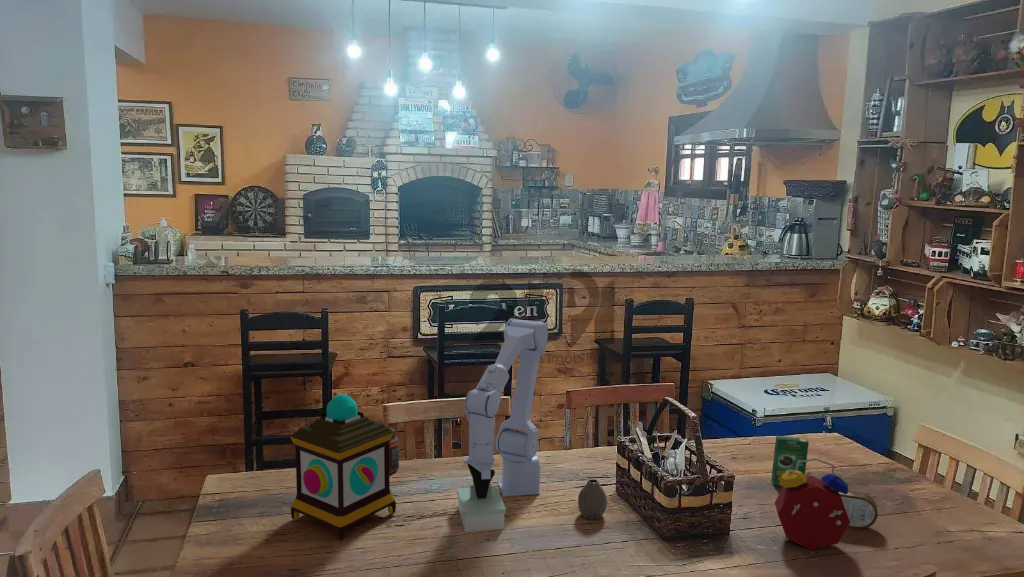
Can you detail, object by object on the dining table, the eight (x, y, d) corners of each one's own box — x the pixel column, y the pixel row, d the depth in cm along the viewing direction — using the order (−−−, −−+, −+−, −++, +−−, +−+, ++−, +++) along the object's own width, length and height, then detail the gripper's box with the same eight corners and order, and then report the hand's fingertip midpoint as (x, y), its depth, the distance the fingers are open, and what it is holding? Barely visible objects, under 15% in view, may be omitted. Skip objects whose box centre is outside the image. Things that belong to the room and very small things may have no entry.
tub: (494, 505, 177) (495, 490, 176) (504, 528, 165) (504, 512, 164) (458, 508, 175) (458, 492, 174) (465, 532, 163) (465, 515, 163)
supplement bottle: (401, 466, 199) (401, 427, 198) (395, 474, 193) (395, 434, 192) (380, 464, 200) (379, 425, 198) (374, 473, 194) (373, 433, 192)
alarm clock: (841, 540, 162) (849, 456, 159) (849, 560, 154) (858, 471, 151) (771, 532, 166) (778, 449, 162) (776, 551, 157) (783, 464, 154)
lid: (495, 491, 176) (496, 474, 176) (505, 515, 164) (506, 496, 163) (457, 494, 174) (457, 476, 174) (464, 518, 162) (464, 499, 162)
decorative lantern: (347, 491, 183) (345, 377, 178) (404, 513, 172) (403, 391, 167) (281, 521, 167) (277, 396, 162) (339, 547, 156) (337, 414, 151)
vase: (610, 512, 174) (611, 478, 173) (601, 524, 168) (602, 489, 166) (583, 506, 177) (584, 472, 175) (573, 518, 171) (574, 483, 169)
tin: (875, 527, 169) (878, 493, 168) (877, 533, 166) (880, 498, 165) (806, 516, 174) (809, 483, 173) (806, 522, 171) (809, 488, 170)
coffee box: (802, 484, 192) (806, 437, 190) (805, 488, 189) (809, 441, 187) (771, 481, 194) (774, 434, 192) (772, 485, 191) (776, 438, 189)
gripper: (460, 430, 173) (459, 484, 175) (468, 453, 159) (468, 511, 161) (489, 429, 174) (488, 482, 177) (500, 451, 160) (499, 508, 163)
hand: (480, 495), depth 169 cm, fingers closed on lid
